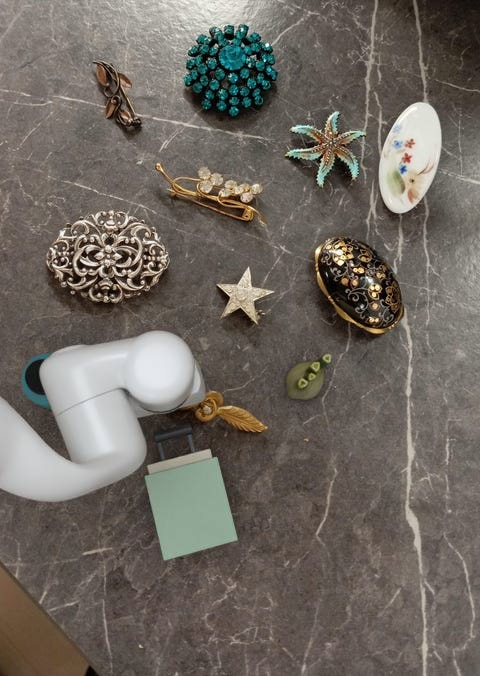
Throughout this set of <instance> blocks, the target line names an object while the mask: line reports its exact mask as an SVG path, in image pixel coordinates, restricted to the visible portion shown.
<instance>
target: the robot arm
mask: <svg viewBox="0 0 480 676" xmlns="http://www.w3.org/2000/svg"><path fill="white" fill-rule="evenodd" d="M50 354H51V355H50V357H48V358H47V359H46V360H44V362H43V363H42V365H41V367H40V371H39V375H40V380H41V383H42V386H43V389H44V391H45V394H46V396H47V399H48V401H49V404H50V406H51V409H52V410H51V412H52V414H53V417H54V419H55V422H56V424H57V426H58V429H59V431H60V432H59V433H60V434H61V437H62V439H63V442H64V445H65V447H66V450H67V452H68V455H69V458H70V460H69V459H67V458H65V457H63V456H62V455H60V454H59V453H58V452H56V451H55V450H54V449H53V448H52V447H50V445H48V444H47V443H46V442H45V441H44V439H42V437H40V435H39V434H38V432H36V431H35V430H34V428H33V427H31V426H30V424H29V423H28V422H27V421H26V419H24V418H23V416H21V415H20V413H19V412H18V411H16V410H15V408H13V407H12V405H10V404H9V402H8V401H7V400H6V399H4V397H3V396H1V395H0V489H1V490H3V491H4V492H7V493H9V494H12V495H15V496H18V497H21V498H24V499H28V500H32V501H36V502H37V501H38V502H45V503H56V502H65V501H70V500H73V499H76V498H79V497H83V496H84V495H87V494H90V493H92V492H94V491H97V490H100V489H102V488H105V487H108V486H109V485H112V484H114V483H118V481H121V480H123V479H125V478H127V477H129V476H130V475H132V474H133V473H135V472H136V471H137V470H138V469H139V468H140V467H141V466H142V465H143V463H144V462H145V459H146V457H147V452H148V447H147V441H146V437H145V435H144V433H143V429H142V427H141V425H140V422H139V419H138V418H144V417H148V416H153V415H162V414H163V415H164V414H165V415H166V414H169V413H172V412H175V411H176V410H178V409H181V408H187V407H189V406H193V405H196V404H200V403H202V402H203V401H204V400H205V399H206V397H207V389H206V381H205V377H204V374H203V371H202V368H201V366H200V364H199V361H198V360H197V359H196V358H194V355H193V352H192V350H191V348H190V346H189V344H187V343H186V341H184V339H182V338H181V337H180V336H178V335H176V334H174V333H172V332H170V331H166V330H158V329H157V330H151V331H147V332H144V333H141V334H140V335H137V336H133V337H129V338H123V339H117V340H113V341H107V342H102V343H96V344H89V345H88V344H75V345H74V344H73V345H70V346H66V347H63V348H60V349H58V350H56V351H54V352H53V353H50Z"/></svg>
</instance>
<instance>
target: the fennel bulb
mask: <svg viewBox="0 0 480 676" xmlns="http://www.w3.org/2000/svg"><path fill="white" fill-rule="evenodd" d="M332 358H333V357H332V354H331V353H325V354H323V355H322V356H321V357H319V358H318V359H314V360H311V361H304V362H301V363H298V364H295V365H294V366H293V367H292V368H291V369H290V370H288V372H287V373H286V375H285V377H284V384H285V386H286V388H285V391H286V395H287V396H288V397H289V398H290V399H292V400H303V401H305V400H310V399H313V398H316V396H318V394H320V391H321V390H322V388H323V384H324V380H325V369H326V366H327V365H329V364H330V363H331V362H332Z"/></svg>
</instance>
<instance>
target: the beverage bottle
mask: <svg viewBox="0 0 480 676" xmlns="http://www.w3.org/2000/svg"><path fill="white" fill-rule="evenodd" d="M51 354H52V353H42V354H38V355H37V356H35V357H33V358H31V359H30V361H28V363H26V364H25V366H24V368H23V370H22V373H21V380H20V384H21V390H22V391H23V393H24V395H25V396H26V398H27V399H28V400H29V401H30V402H32V403H34V404H35V405H38V406H40V407H41V408H43V409H44V410H47V411H50V412H52V409H51V406H50V404H49V401H48V399H47V396H46V394H45V391H44V389H43V386H42V383H41V380H40V375H39V371H40V367H41V365H42V363H43V362H44V360H46V359H47V358H48V357H50V355H51Z"/></svg>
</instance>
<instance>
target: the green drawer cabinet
mask: <svg viewBox="0 0 480 676" xmlns="http://www.w3.org/2000/svg"><path fill="white" fill-rule="evenodd" d="M219 462H220V461H219V459H218V456H214V457H212V458H210V459H206V460H203V461H199V462H195V463H191V464H188V465H184V466H180V467H176V468H173V469H169V470H165V471H161V472H158V473H154V474H150V475H149V474H146V475H144V481H145V485H146V490H147V493H148V499H149V502H150V503H149V504H150V506H151V507H150V508H151V511H152V515H153V519H154V524H155V529H156V534H157V538H158V541H159V546H160V551H161V555H162V559H163V561H165V562H166V561H168V560H172V559H176V558H179V557H183V556H186V555H189V554H193V553H197V552H201V551H205V550H208V549H211V548H215V547H219V546H222V545H226V544H229V543H233V542H237V541H238V540H239V538H238V534H237V530H236V526H235V522H234V518H233V514H232V510H231V506H230V502H229V498H228V494H227V490H226V486H225V482H224V478H223V475H222V469H221V466H220V463H219Z"/></svg>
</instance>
